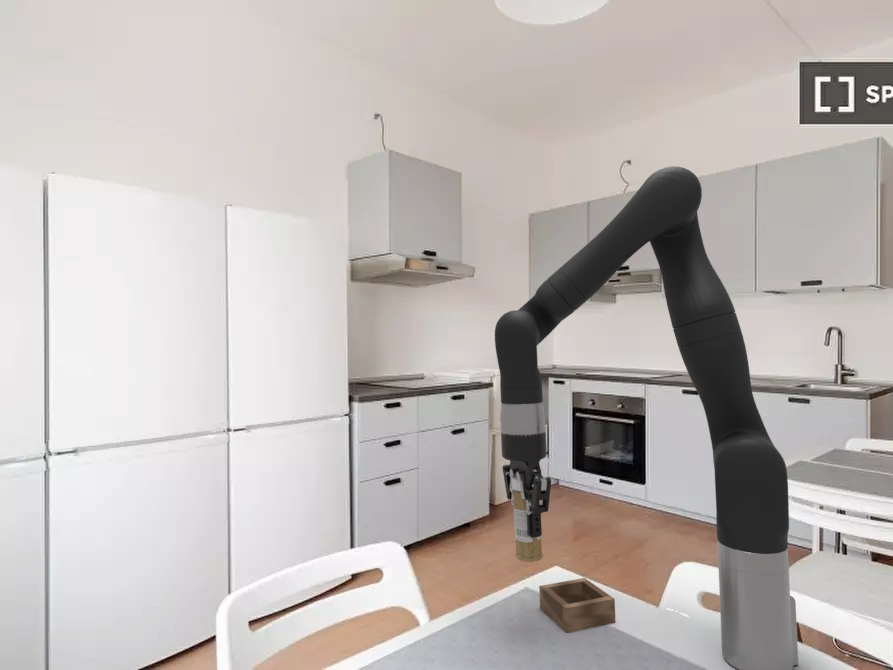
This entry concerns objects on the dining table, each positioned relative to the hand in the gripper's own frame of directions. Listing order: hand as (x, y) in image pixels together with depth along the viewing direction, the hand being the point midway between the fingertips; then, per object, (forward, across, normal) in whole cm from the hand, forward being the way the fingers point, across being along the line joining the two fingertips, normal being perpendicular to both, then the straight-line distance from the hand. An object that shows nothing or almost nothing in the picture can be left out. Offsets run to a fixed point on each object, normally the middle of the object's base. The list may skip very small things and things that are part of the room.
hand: (527, 531), depth 93 cm
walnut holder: (+16, +2, -10) cm, 19 cm away
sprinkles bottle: (+5, 0, 0) cm, 5 cm away
